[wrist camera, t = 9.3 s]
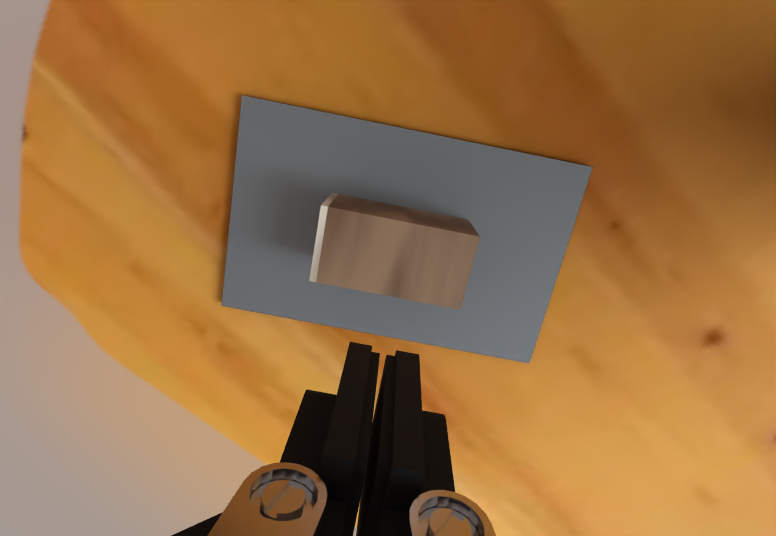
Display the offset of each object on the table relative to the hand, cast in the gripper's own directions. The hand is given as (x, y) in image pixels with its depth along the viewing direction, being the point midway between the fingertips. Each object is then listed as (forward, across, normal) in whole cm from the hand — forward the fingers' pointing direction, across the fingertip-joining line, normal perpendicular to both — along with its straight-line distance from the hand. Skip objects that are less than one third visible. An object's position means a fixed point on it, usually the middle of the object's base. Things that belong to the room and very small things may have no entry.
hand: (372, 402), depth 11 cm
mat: (+21, 0, +1) cm, 21 cm away
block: (+18, +4, +1) cm, 19 cm away
